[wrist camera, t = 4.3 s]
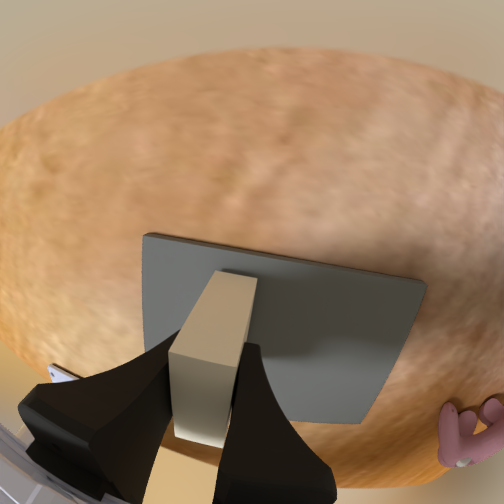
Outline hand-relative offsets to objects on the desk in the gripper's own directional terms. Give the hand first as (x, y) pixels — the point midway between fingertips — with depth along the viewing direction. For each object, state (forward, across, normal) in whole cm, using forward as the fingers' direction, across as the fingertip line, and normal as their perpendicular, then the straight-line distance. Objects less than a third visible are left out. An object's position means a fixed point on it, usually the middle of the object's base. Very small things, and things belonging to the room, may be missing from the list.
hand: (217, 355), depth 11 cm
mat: (+4, -2, +2) cm, 5 cm away
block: (+3, 0, 0) cm, 3 cm away
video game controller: (+4, -22, +7) cm, 24 cm away
